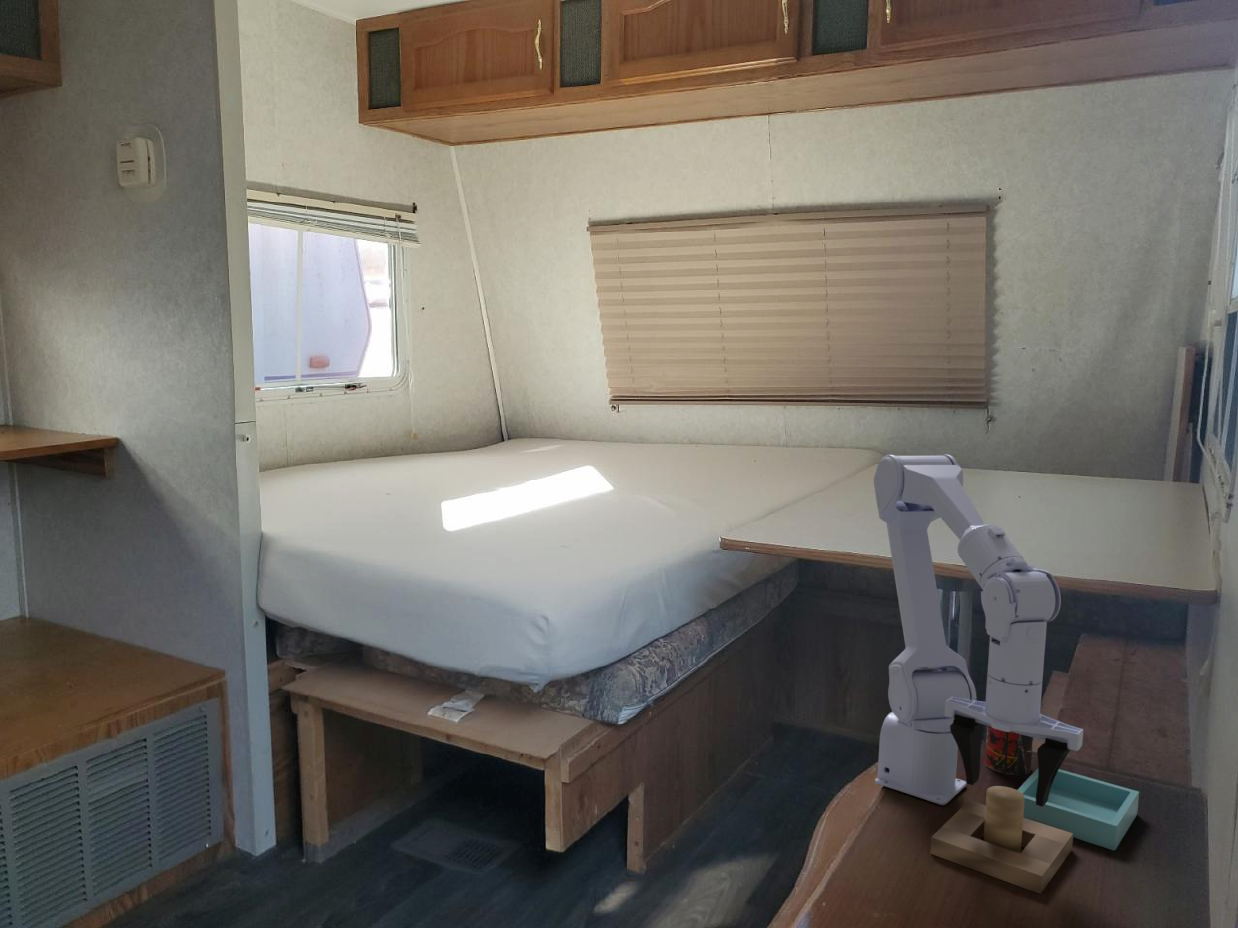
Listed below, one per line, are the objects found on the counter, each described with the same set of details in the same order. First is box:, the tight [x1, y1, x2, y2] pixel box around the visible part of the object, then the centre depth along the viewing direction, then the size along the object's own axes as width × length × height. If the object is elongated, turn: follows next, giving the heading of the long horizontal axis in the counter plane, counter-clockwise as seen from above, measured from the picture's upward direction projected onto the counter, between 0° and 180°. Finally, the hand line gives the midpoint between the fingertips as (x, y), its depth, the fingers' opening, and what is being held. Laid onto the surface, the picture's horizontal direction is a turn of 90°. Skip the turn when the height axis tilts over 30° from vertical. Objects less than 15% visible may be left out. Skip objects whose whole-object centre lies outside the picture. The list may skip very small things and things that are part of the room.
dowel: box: [982, 785, 1025, 853], centre depth 108 cm, size 4×4×7 cm
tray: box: [1017, 767, 1140, 852], centre depth 117 cm, size 12×12×3 cm
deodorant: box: [984, 725, 1034, 777], centre depth 130 cm, size 6×6×15 cm
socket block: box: [929, 800, 1074, 895], centre depth 108 cm, size 12×12×2 cm
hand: (1006, 791), depth 107 cm, fingers open, 7 cm apart
